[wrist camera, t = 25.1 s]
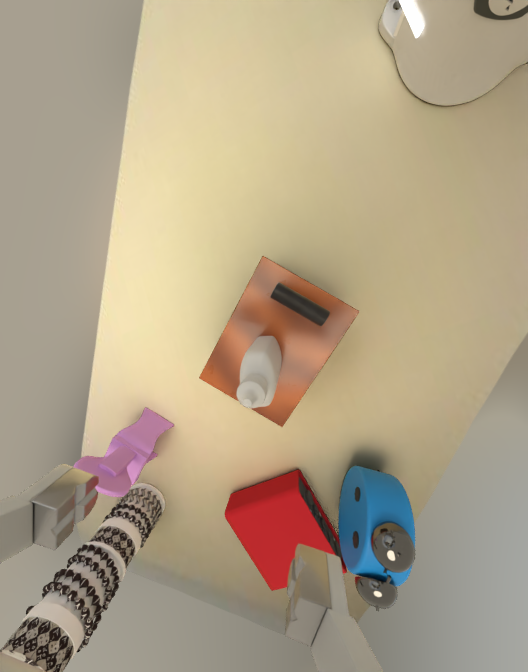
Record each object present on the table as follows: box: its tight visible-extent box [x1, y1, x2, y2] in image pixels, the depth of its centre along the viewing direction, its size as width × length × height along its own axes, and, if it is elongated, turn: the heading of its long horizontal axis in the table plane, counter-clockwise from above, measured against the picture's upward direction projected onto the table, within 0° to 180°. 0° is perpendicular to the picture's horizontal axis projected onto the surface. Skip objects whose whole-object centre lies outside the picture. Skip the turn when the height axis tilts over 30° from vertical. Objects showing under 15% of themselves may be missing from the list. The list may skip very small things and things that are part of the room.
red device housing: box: [225, 470, 347, 591], centre depth 44 cm, size 18×14×5 cm
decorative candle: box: [0, 483, 165, 672], centre depth 39 cm, size 9×9×25 cm
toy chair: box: [74, 407, 174, 497], centre depth 40 cm, size 8×9×15 cm
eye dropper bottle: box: [236, 336, 282, 408], centre depth 24 cm, size 4×6×12 cm
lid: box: [199, 256, 359, 427], centre depth 28 cm, size 17×13×5 cm
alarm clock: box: [339, 466, 415, 611], centre depth 35 cm, size 13×6×15 cm, turn 169°
